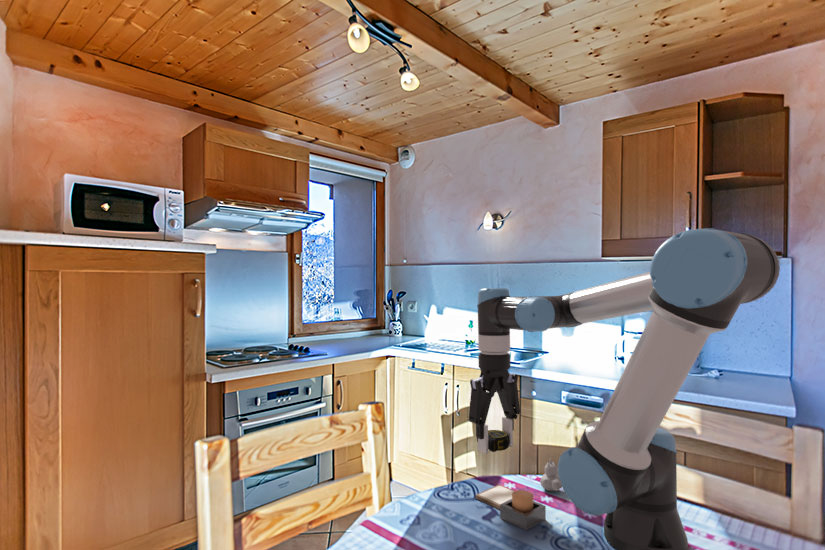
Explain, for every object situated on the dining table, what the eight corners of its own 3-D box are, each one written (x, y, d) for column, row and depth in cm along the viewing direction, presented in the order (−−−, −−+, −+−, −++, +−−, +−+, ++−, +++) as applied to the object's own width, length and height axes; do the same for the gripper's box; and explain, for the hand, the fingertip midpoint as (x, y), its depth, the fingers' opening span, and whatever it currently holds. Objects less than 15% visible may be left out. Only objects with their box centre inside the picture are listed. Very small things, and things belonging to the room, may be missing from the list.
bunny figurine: (556, 484, 120) (556, 453, 120) (568, 496, 113) (568, 463, 113) (536, 486, 119) (536, 454, 119) (547, 497, 112) (547, 464, 112)
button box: (545, 519, 102) (545, 505, 102) (526, 530, 97) (526, 516, 97) (519, 508, 107) (519, 495, 107) (500, 518, 103) (500, 504, 103)
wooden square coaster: (528, 499, 111) (528, 496, 111) (505, 512, 105) (505, 508, 105) (499, 487, 118) (499, 483, 118) (475, 498, 112) (475, 494, 112)
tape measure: (475, 446, 113) (475, 431, 113) (499, 442, 115) (499, 427, 115) (490, 456, 106) (489, 439, 106) (515, 451, 109) (515, 435, 109)
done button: (537, 508, 102) (537, 495, 102) (525, 515, 99) (525, 501, 99) (520, 501, 106) (520, 488, 106) (507, 507, 103) (507, 494, 103)
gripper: (512, 347, 120) (513, 436, 119) (451, 354, 108) (452, 452, 107) (534, 350, 113) (536, 444, 113) (473, 358, 102) (474, 462, 101)
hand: (495, 448), depth 110 cm, fingers closed on tape measure, 7 cm apart
